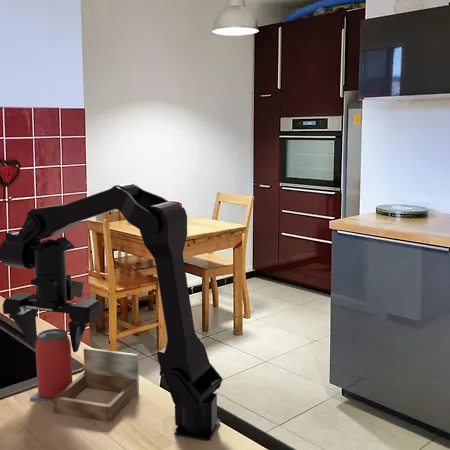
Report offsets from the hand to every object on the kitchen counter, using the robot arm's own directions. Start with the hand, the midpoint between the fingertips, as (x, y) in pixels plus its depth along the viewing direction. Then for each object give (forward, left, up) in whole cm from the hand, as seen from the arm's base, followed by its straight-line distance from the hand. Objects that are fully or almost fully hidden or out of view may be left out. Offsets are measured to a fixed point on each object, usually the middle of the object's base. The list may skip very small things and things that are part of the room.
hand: (54, 348), depth 113 cm
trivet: (0, +1, -9) cm, 9 cm away
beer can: (0, +1, -9) cm, 9 cm away
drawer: (-10, +2, -9) cm, 13 cm away
